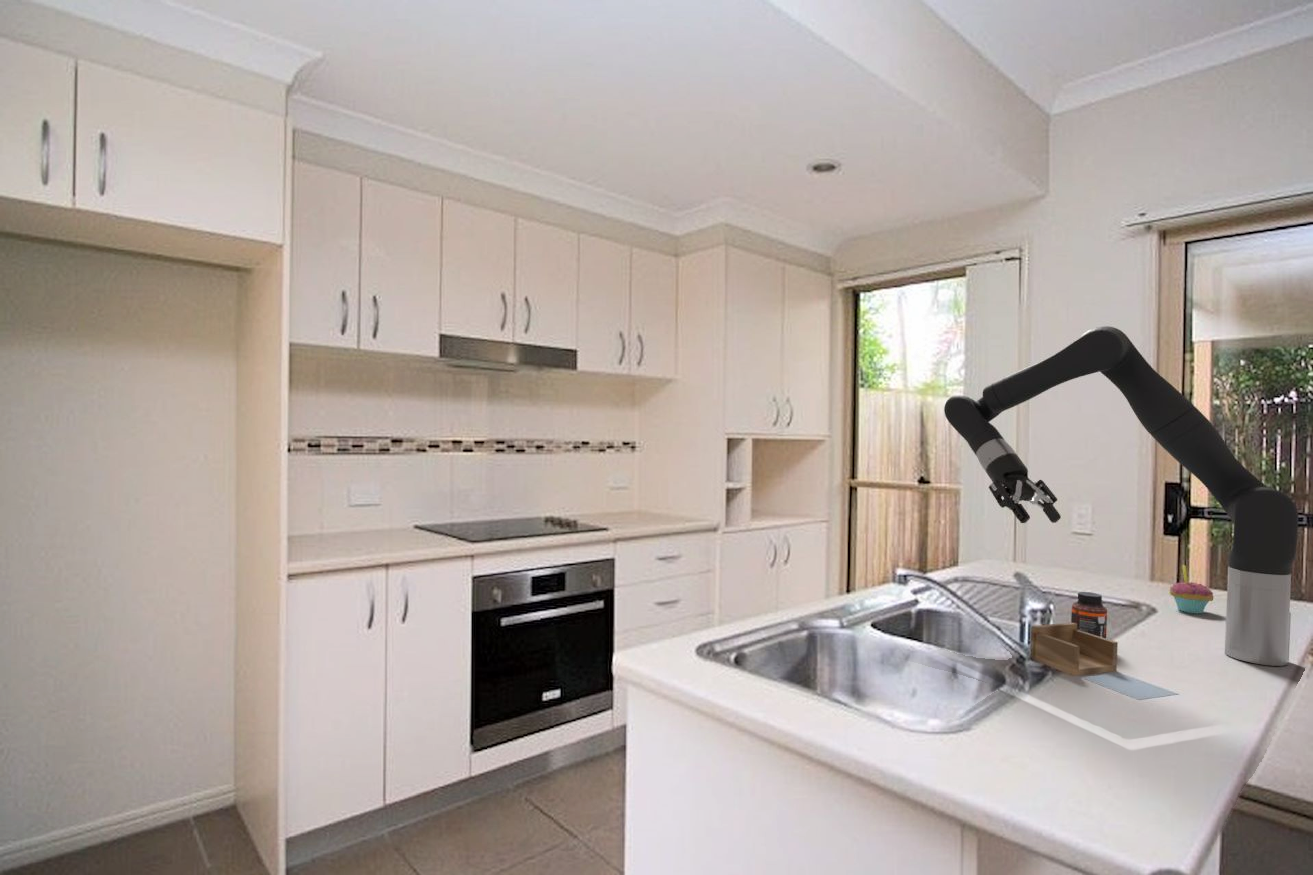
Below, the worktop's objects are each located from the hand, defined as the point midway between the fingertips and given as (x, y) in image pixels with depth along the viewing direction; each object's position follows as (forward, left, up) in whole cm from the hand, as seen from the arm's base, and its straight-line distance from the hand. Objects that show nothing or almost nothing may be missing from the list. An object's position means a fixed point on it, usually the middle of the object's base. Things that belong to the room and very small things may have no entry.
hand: (1041, 520), depth 146 cm
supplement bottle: (0, +12, -24) cm, 27 cm away
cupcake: (-55, -5, -24) cm, 60 cm away
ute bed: (+13, +19, -24) cm, 33 cm away
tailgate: (+13, +24, -23) cm, 36 cm away
